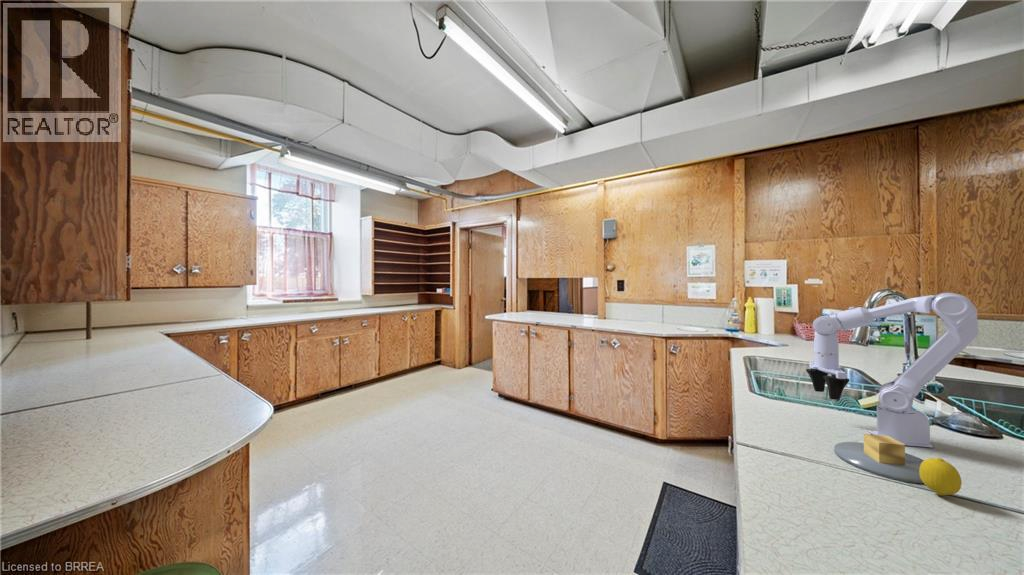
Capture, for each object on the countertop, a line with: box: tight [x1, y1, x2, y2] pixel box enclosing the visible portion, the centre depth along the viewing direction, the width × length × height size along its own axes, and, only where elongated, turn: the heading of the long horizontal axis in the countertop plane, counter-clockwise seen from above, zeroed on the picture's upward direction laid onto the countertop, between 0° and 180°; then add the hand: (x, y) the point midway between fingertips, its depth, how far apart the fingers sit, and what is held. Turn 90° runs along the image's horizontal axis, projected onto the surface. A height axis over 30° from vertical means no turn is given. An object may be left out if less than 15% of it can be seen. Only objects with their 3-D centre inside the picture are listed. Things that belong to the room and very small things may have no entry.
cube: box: [863, 433, 906, 465], centre depth 83 cm, size 5×5×5 cm
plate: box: [833, 441, 925, 484], centre depth 83 cm, size 18×18×1 cm
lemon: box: [919, 457, 962, 497], centre depth 70 cm, size 6×6×8 cm
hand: (826, 395), depth 106 cm, fingers open, 7 cm apart
